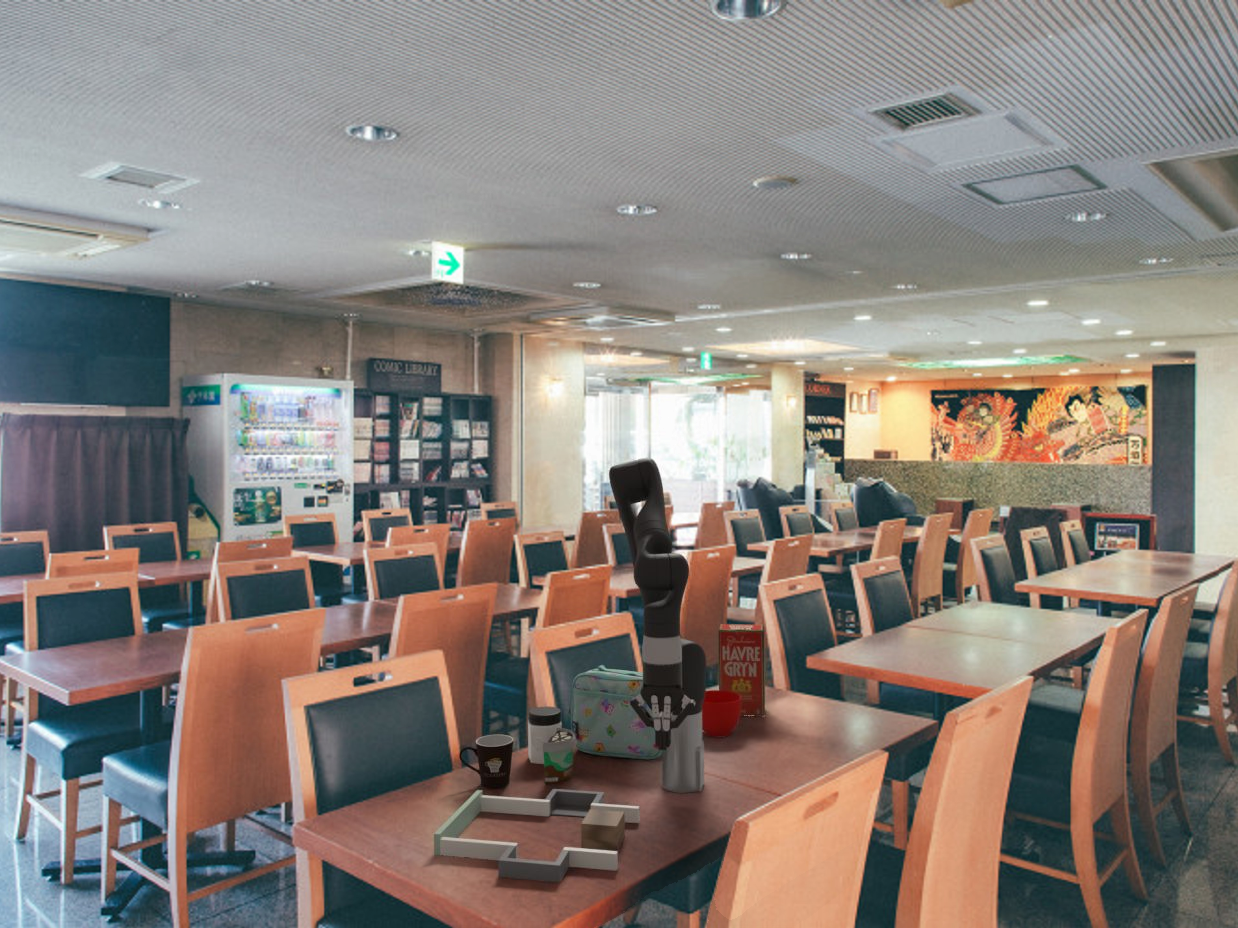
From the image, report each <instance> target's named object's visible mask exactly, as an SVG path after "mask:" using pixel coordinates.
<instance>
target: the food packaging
mask: <svg viewBox="0 0 1238 928" xmlns="http://www.w3.org/2000/svg"><path fill="white" fill-rule="evenodd" d="M718 628H719V629H718V631H717V632H718V690H721V691H730V692H734V693H737V694H739V695H740V696H741V713H740V715H741V716H740V717H745V716H744V715H747V716H746V717H749V716H748V715H754V716H764V715H765V716H766V666H765V665H766V662H765V661H766V659H765V651H766V650H765V625H764V624H743V623H742V624H740V623H738V624H735V623H731V624H730V623H725V624H724V623H720V624H719V627H718Z"/></svg>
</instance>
